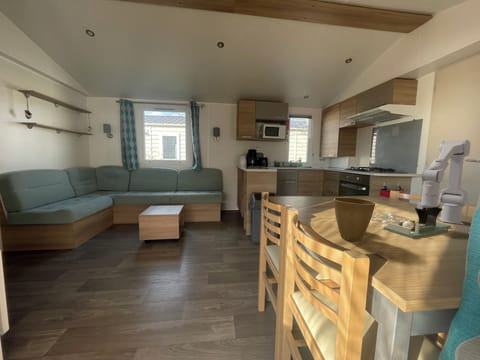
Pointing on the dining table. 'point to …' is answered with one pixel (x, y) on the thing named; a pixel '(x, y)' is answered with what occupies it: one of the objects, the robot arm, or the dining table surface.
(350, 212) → the plant pot
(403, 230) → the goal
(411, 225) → the ball
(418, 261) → the dining table surface
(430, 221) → the block ended dumbbell
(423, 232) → the green long flat piece
